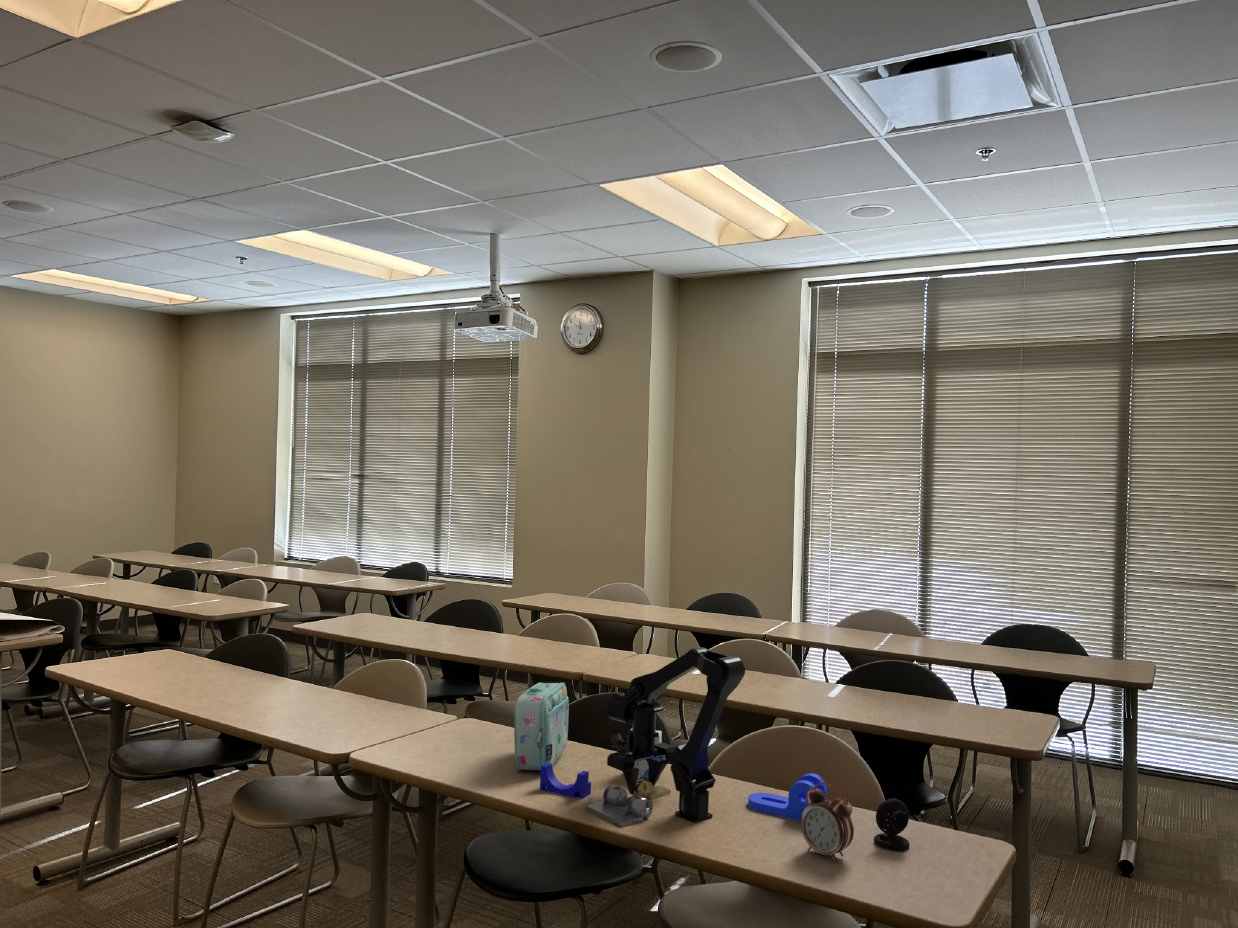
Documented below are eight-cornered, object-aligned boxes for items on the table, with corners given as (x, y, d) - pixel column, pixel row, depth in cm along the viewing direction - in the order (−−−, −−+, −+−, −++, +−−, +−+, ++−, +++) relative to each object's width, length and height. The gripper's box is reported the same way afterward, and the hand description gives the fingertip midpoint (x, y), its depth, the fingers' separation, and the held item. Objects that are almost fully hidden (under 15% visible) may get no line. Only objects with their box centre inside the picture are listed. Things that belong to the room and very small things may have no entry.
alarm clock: (797, 850, 186) (800, 779, 187) (810, 844, 190) (812, 774, 190) (843, 867, 179) (845, 793, 179) (855, 860, 182) (857, 788, 182)
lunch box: (547, 779, 225) (551, 695, 226) (509, 775, 226) (513, 692, 227) (569, 750, 251) (573, 675, 252) (535, 747, 253) (538, 672, 254)
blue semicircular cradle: (590, 794, 216) (591, 769, 216) (581, 799, 212) (582, 774, 212) (549, 785, 221) (550, 761, 221) (539, 790, 217) (540, 765, 217)
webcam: (885, 853, 187) (887, 805, 187) (866, 839, 194) (868, 793, 194) (917, 850, 189) (918, 803, 189) (896, 837, 196) (898, 792, 197)
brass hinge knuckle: (670, 793, 218) (671, 775, 218) (639, 802, 211) (640, 783, 212) (659, 789, 221) (660, 771, 221) (628, 797, 214) (629, 778, 215)
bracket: (826, 813, 209) (827, 776, 210) (816, 824, 202) (818, 785, 202) (754, 798, 218) (756, 762, 218) (743, 808, 211) (744, 770, 211)
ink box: (661, 774, 233) (663, 730, 233) (657, 780, 228) (659, 735, 228) (629, 770, 235) (631, 726, 235) (625, 776, 230) (627, 731, 230)
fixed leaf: (655, 818, 201) (656, 798, 201) (623, 827, 194) (624, 807, 194) (614, 800, 212) (615, 781, 212) (583, 808, 205) (583, 789, 205)
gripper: (649, 715, 227) (646, 775, 227) (593, 725, 215) (591, 789, 214) (679, 724, 219) (677, 787, 218) (623, 735, 206) (621, 802, 206)
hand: (641, 791), depth 214 cm, fingers open, 6 cm apart
